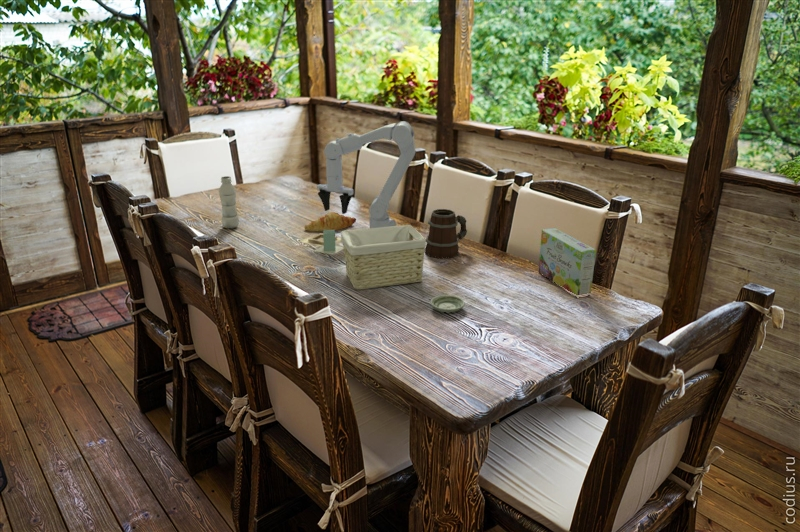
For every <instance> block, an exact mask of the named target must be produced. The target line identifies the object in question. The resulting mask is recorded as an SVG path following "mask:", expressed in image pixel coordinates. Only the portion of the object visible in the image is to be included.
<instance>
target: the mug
mask: <svg viewBox="0 0 800 532" xmlns="http://www.w3.org/2000/svg"><path fill="white" fill-rule="evenodd" d="M466 223H467V220H466V218H465V216H463V215H459V214H458V215H457V216H456V212H455V211H453V210H451V209H446V208H438V209H434V210H433V211H432V212H431V216H430V218H429V219H428V222H427V224H428V225H429V228H428V229H429V230H428V235H427V236H426V239H425V240H426V246H425V253H424V254H426V255H427V256H429V257H431V258H436V259H439V258H440V260H442V259H443V258H444V259H453V258H454V257H458V256H459V251H460V250H459V248H460V247H459V240H463V239H464V238H465V237H466V235H467V233H468V229H467V224H466ZM458 224H459V225H460V229H459V232H458V233H457V226H458Z"/></svg>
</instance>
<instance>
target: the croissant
mask: <svg viewBox="0 0 800 532" xmlns="http://www.w3.org/2000/svg"><path fill="white" fill-rule="evenodd" d="M356 221H357V218H356V217H351V216H347V215H346V216H345V215H344V214H340V213H338V212H334V211H330V212H328V213H327V214H325V215H324V216H320V217H318V218H317V219H316V220H313V221H311V222H309V223H308V224H305V225H304V226H303V228H304V230H305V231H307V232H320V233H321V232H323V231H324V230H335V231H339V230H343V229H345V228H348V227H351V226H353V225H354V224H355V223H356Z"/></svg>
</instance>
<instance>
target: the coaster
mask: <svg viewBox="0 0 800 532" xmlns="http://www.w3.org/2000/svg"><path fill="white" fill-rule="evenodd" d="M342 250H343V251H344V248H343V246H339V245H336V250H335V251H324V247H322V246H319V248H317V249H315V250H314V252H318V253H323V254H327V255H333V256H334V255H336V254H337V253H339V252H340V251H342Z"/></svg>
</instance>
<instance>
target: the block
mask: <svg viewBox="0 0 800 532" xmlns="http://www.w3.org/2000/svg"><path fill="white" fill-rule="evenodd" d="M322 234H323V240H324V251H335V250H336V246H337V245H336V243H335V236H336V230H324V231H323V233H322Z"/></svg>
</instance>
